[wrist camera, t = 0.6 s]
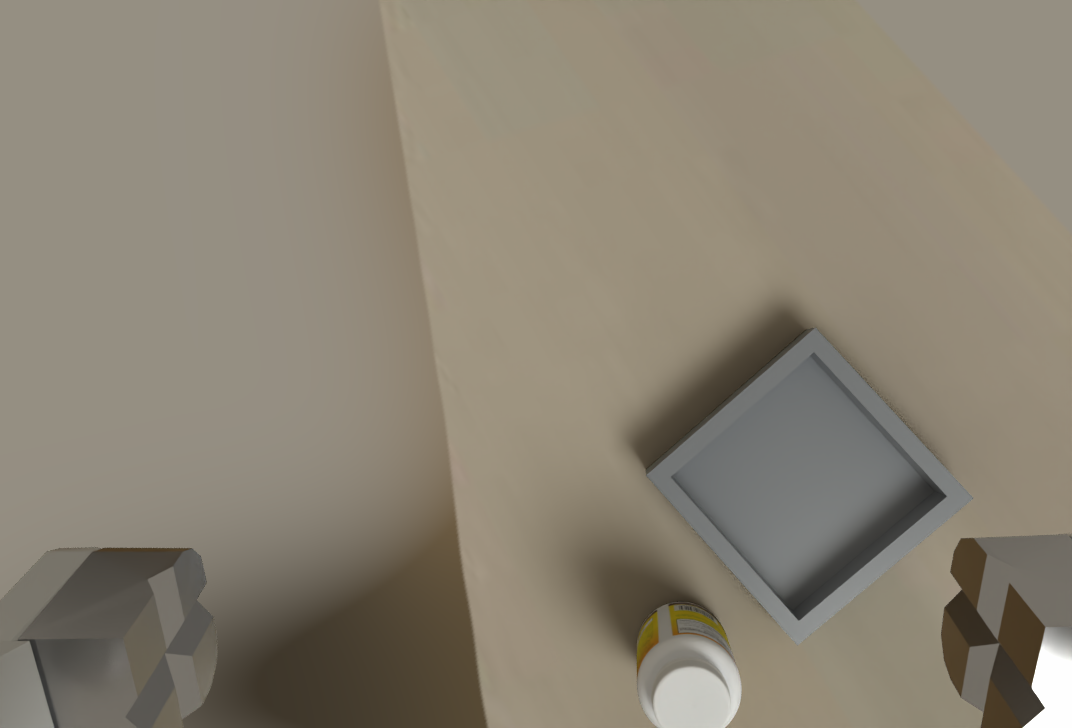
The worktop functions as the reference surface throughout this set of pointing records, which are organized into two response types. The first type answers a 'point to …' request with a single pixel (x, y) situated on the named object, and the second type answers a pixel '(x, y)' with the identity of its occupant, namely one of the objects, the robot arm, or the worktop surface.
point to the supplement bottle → (686, 669)
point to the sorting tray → (807, 485)
